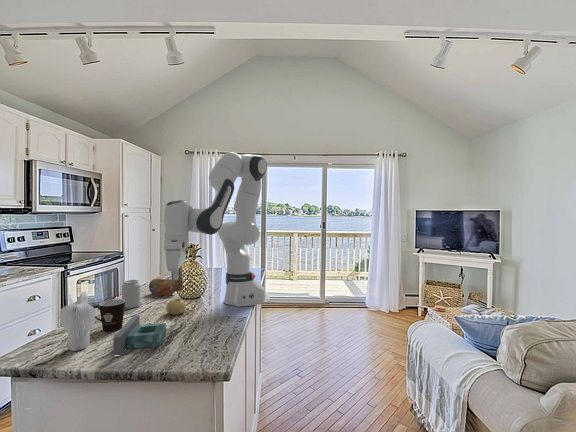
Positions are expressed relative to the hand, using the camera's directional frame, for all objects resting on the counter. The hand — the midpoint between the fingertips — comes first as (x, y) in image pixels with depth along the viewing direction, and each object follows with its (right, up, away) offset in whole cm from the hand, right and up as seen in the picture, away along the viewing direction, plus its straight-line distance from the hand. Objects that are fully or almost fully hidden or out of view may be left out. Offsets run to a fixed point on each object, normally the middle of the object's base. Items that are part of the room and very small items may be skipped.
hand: (177, 277), depth 120 cm
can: (-30, -18, +23) cm, 42 cm away
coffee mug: (-25, -19, -2) cm, 31 cm away
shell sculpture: (-25, -19, -19) cm, 37 cm away
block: (-5, -19, -14) cm, 24 cm away
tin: (-23, -18, +44) cm, 53 cm away
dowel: (0, -5, 0) cm, 5 cm away
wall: (-12, -19, -15) cm, 27 cm away
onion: (-6, -19, +15) cm, 24 cm away
